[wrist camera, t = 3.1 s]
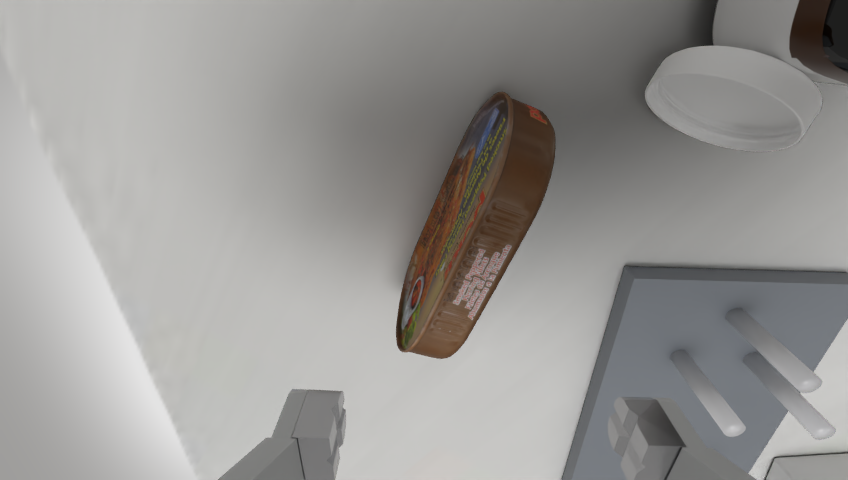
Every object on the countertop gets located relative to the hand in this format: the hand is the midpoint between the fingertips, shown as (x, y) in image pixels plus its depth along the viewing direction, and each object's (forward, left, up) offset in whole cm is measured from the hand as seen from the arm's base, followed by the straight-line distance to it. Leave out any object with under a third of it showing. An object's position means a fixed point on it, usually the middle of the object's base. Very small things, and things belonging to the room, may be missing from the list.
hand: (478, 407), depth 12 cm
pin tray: (-19, +16, -15) cm, 29 cm away
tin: (0, 0, -16) cm, 16 cm away
